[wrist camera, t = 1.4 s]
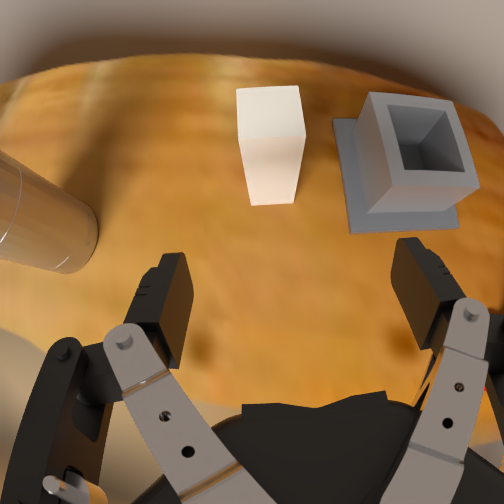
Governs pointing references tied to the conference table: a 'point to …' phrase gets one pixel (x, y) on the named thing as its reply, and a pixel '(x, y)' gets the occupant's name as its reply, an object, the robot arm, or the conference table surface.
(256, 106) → the white square block
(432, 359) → the robot arm
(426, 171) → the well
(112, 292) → the conference table surface
